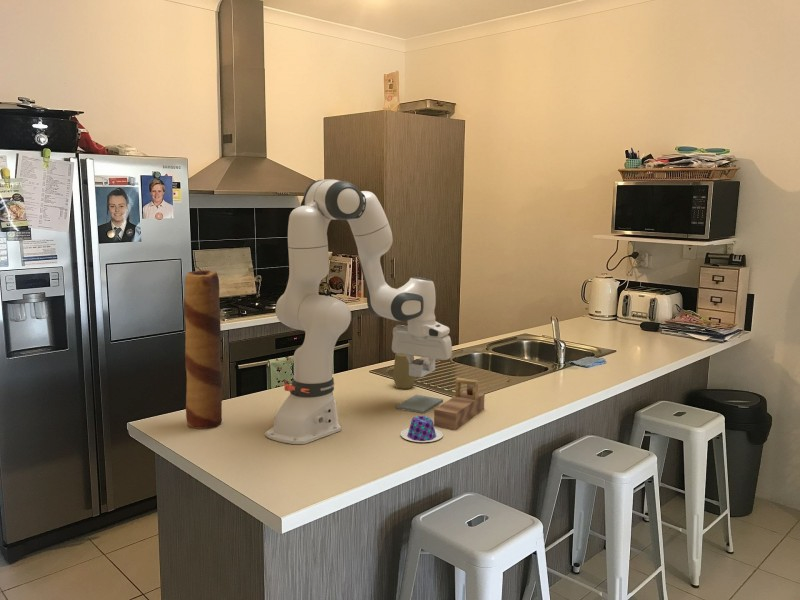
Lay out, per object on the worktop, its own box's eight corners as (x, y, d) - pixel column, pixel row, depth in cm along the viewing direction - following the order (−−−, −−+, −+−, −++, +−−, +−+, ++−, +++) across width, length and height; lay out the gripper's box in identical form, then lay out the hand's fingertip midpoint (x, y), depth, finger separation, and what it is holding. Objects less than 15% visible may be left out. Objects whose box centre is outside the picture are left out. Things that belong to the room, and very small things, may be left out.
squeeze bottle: (400, 382, 237) (400, 333, 234) (419, 385, 233) (420, 336, 230) (388, 387, 230) (388, 337, 227) (408, 391, 226) (408, 340, 223)
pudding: (451, 439, 183) (451, 421, 182) (415, 447, 177) (415, 429, 176) (427, 426, 193) (427, 409, 192) (392, 433, 187) (392, 416, 186)
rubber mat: (423, 413, 203) (423, 411, 203) (395, 408, 208) (395, 405, 208) (443, 401, 215) (443, 399, 215) (416, 396, 220) (416, 394, 220)
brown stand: (455, 429, 190) (456, 394, 188) (433, 425, 193) (434, 390, 191) (484, 408, 209) (485, 376, 207) (463, 405, 212) (464, 373, 210)
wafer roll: (231, 419, 196) (226, 270, 189) (211, 431, 186) (205, 274, 179) (200, 416, 199) (195, 269, 192) (179, 427, 189) (173, 272, 182)
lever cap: (421, 377, 206) (421, 362, 205) (408, 375, 208) (408, 360, 207) (435, 369, 214) (435, 355, 213) (423, 367, 216) (423, 353, 216)
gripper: (388, 325, 210) (388, 367, 212) (445, 332, 200) (445, 376, 203) (397, 322, 215) (397, 363, 218) (454, 329, 206) (453, 371, 208)
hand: (421, 369), depth 210 cm, fingers closed on lever cap, 4 cm apart
